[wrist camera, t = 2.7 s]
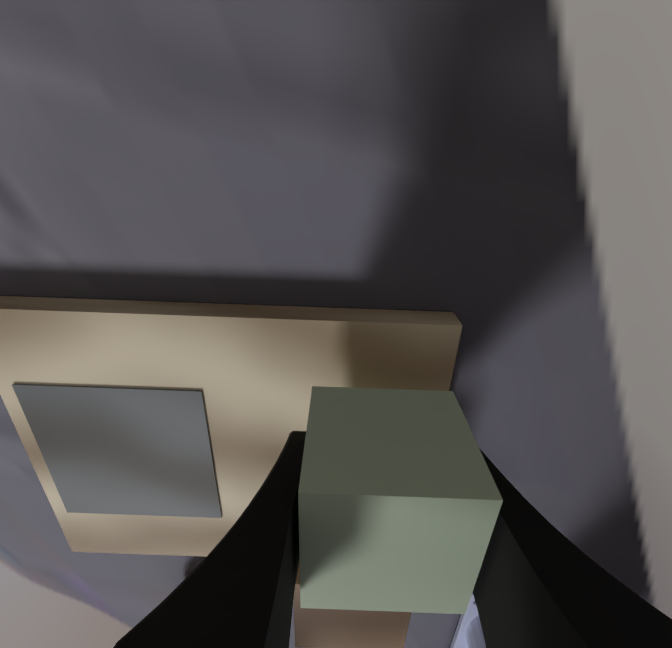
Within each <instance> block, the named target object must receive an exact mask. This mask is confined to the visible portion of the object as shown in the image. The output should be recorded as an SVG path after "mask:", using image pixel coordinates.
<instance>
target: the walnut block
mask: <svg viewBox="0 0 672 648" xmlns="http://www.w3.org/2000/svg"><path fill="white" fill-rule="evenodd" d="M410 616H411V612H393V611H366V610H340V609H313V608H301V606H300V561H299V567H298V572H297V578H296V584H295V591H294V625H295V647H307V648H404V643H405V639H406V634H407V630H408V625H409V621H410Z"/></svg>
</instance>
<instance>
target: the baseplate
mask: <svg viewBox="0 0 672 648" xmlns="http://www.w3.org/2000/svg"><path fill="white" fill-rule="evenodd" d="M461 331H462V324H461V323H460V321H459V320H458V318H457V317H456V315H455V314H454V312H439V311H411V310H383V309H356V308H328V307H300V306H272V305H244V304H216V303H188V302H160V301H133V300H105V299H77V298H49V297H21V296H0V395H1V397H2V399H3V401H4V404H5V406H6V408H7V410H8V412H9V415H10V417H11V419H12V421H13V423H14V425H15V428H16V430H17V432H18V434H19V436H20V439H21V441H22V443H23V445H24V447H25V449H26V452H27V454H28V456H29V458H30V460H31V463H32V465H33V467H34V469H35V471H36V473H37V476H38V478H39V480H40V482H41V484H42V487H43V489H44V491H45V493H46V495H47V497H48V500H49V502H50V504H51V506H52V508H53V511H54V513H55V515H56V517H57V519H58V522H59V524H60V526H61V528H62V530H63V532H64V535H65V537H66V539H67V541H68V543H69V546H70V548H71V550H72V552H95V553H122V554H150V555H177V556H205V557H207V556H208V554H209V553H210V552H211V551H212V550H213V549H214V548H215V546H216V545H217V544H218V543H219V542H220V541H221V540H222V538H223V537H224V536H225V535H226V534H227V532H228V531H229V530H230V529H231V527H232V526H233V525H234V524H235V522H236V521H237V520H238V518H239V517H240V516H241V514H242V513H243V512H244V510H245V509H246V508H247V506H248V505H249V503H250V502H251V500H252V499H253V498H254V496H255V495H256V493H257V492H258V490H259V489H260V487H261V486H262V484H263V483H264V481H265V479H266V478H267V476H268V474H269V473H270V471H271V469H272V468H273V466H274V464H275V463H276V461H277V459H278V457H279V455H280V453H281V452H282V450H283V448H284V445H285V443H286V441H287V439H288V436H289V434H290V433H291V432H292V431H306V430H307V422H308V415H309V407H310V399H311V392H312V386H322V387H350V388H378V389H406V390H433V391H449V389H450V384H451V379H452V374H453V369H454V365H455V360H456V355H457V350H458V345H459V340H460V335H461Z"/></svg>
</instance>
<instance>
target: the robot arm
mask: <svg viewBox="0 0 672 648" xmlns="http://www.w3.org/2000/svg"><path fill="white" fill-rule="evenodd" d="M305 437H306V431H292V432H291V433H290V434H289V436H288V439H287V441H286V443H285V445H284V448H283V450H282V452H281V453H280V455H279V457H278V459H277V461H276V463H275V464H274V466H273V468H272V469H271V471H270V473H269V474H268V476H267V478H266V479H265V481H264V483H263V484H262V486H261V487H260V489H259V490H258V492H257V493H256V495H255V496H254V498H253V499H252V500H251V502H250V503H249V505H248V506H247V508H246V509H245V510H244V512H243V513H242V514H241V516H240V517H239V518H238V520H237V521H236V522H235V524H234V525H233V526H232V527H231V529H230V530H229V531H228V532H227V534H226V535H225V536H224V537H223V538H222V540H221V541H220V542H219V543H218V544H217V545H216V546H215V548H214V549H213V550H212V551H211V552H210V553H209V554H208V556H207V557H206V558H205V559H204V560H203V561H202V562H201V563H200V564H199V565H198V566H197V568H196V569H195V570H194V571H193V572H192V573H191V574H190V575H189V576H188V577H187V578H186V579H185V580H184V581H183V582H182V583H181V584H180V585H179V586H178V587H177V588H176V589H175V590H174V591H173V592H172V593H171V594H170V595H169V596H168V597H167V598H166V599H165V600H164V601H163V602H161V603H160V604H159V605H158V606H157V607H156V608H155V609H154V610H153V611H152V612H150V613H149V614H148V615H147V616H146V617H145V618H144V619H143V620H142V621H140V622H139V623H138V624H137V625H136V626H135V627H134V628H133V629H131V630H130V631H129V632H128V633H127V634H126V635H125V636H124V637H122V638H121V639H120V640H119V641H118V642H117V643H116V645H115V646H114V648H289V638H290V628H291V617H292V607H293V598H294V591H295V584H296V578H297V572H298V567H299V561H300V557H299V508H298V490H299V483H300V475H301V468H302V460H303V452H304V445H305ZM479 449H480V448H479ZM480 451H481V449H480ZM481 453H482V455H483V458H484V460H485V462H486V464H487V466H488V469H489V471H490V473H491V475H492V477H493V479H494V482H495V484H496V486H497V488H498V490H499V492H500V495H501V497H502V499H503V502H502V505H501V508H500V511H499V514H498V517H497V520H496V523H495V526H494V529H493V532H492V535H491V538H490V541H489V544H488V547H487V550H486V553H485V556H484V559H483V562H482V565H481V568H480V571H479V574H478V577H477V580H476V583H475V586H474V589H473V592H472V595H471V598H470V601H469V604H468V607H467V610H466V613H465V614H461V616H460V619H459V622H458V625H457V628H456V631H455V634H454V637H453V640H452V643H451V646H450V648H672V619H671V618H669V617H668V616H666V615H665V614H663V613H662V612H660V611H659V610H658V609H656V608H655V607H653V606H652V605H650V604H649V603H648V602H646V601H645V600H644V599H642V598H641V597H639V596H638V595H637V594H635V593H634V592H633V591H631V590H630V589H629V588H627V587H626V586H625V585H623V584H622V583H621V582H619V581H618V580H617V579H616V578H614V577H613V576H612V575H610V574H609V573H608V572H607V571H605V570H604V569H603V568H601V567H600V566H599V565H598V564H596V563H595V562H594V561H593V560H592V559H590V558H589V557H588V556H587V555H585V554H584V553H583V552H582V551H581V550H580V549H578V548H577V547H576V546H575V545H574V544H573V543H572V542H570V541H569V540H568V539H567V538H566V537H565V536H564V535H562V534H561V533H560V532H559V531H558V530H557V529H556V528H555V527H554V526H553V525H551V524H550V523H549V522H548V521H547V520H546V519H545V518H544V517H543V516H542V515H541V514H540V513H539V512H538V511H537V510H536V509H535V508H534V507H533V506H532V505H531V504H530V503H529V502H528V501H527V500H526V499H525V498H524V497H523V496H522V495H521V494H520V493H519V492H518V491H517V490H516V489H515V487H514V486H513V485H512V484H511V483H510V482H509V481H508V480H507V479H506V478H505V477H504V476H503V474H502V473H501V472H500V471H499V470H498V469H497V468H496V467H495V465H494V464H493V463H492V462H491V461H490V460H489V459H488V457H487V456H486V455H485V454H484V453H483V452H482V451H481Z"/></svg>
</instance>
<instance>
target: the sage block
mask: <svg viewBox="0 0 672 648" xmlns="http://www.w3.org/2000/svg"><path fill="white" fill-rule="evenodd" d="M502 502H503V499H502V497H501V495H500V492H499V490H498V488H497V486H496V484H495V482H494V479H493V477H492V475H491V473H490V471H489V469H488V466H487V464H486V462H485V460H484V458H483V455H482V453H481V451H480V449H479V447H478V445H477V442H476V440H475V438H474V436H473V434H472V432H471V429H470V427H469V425H468V423H467V421H466V419H465V416H464V414H463V412H462V410H461V408H460V405H459V403H458V401H457V399H456V397H455V395H454V392H453V391H433V390H406V389H378V388H350V387H322V386H312V392H311V399H310V407H309V415H308V422H307V430H306V437H305V445H304V452H303V460H302V468H301V475H300V483H299V490H298V508H299V557H300V606H301V608H313V609H340V610H366V611H393V612H419V613H446V614H465V613H466V610H467V607H468V604H469V601H470V598H471V595H472V592H473V589H474V586H475V583H476V580H477V577H478V574H479V571H480V568H481V565H482V562H483V559H484V556H485V553H486V550H487V547H488V544H489V541H490V538H491V535H492V532H493V529H494V526H495V523H496V520H497V517H498V514H499V511H500V508H501V505H502Z"/></svg>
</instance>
